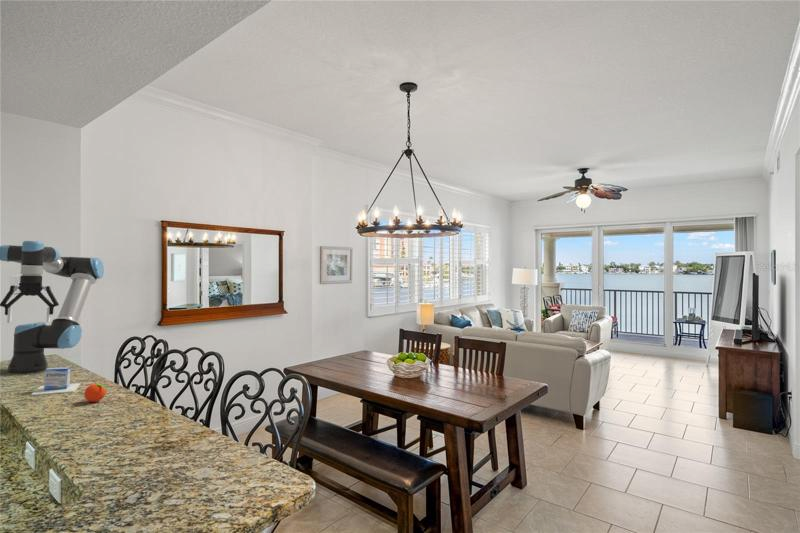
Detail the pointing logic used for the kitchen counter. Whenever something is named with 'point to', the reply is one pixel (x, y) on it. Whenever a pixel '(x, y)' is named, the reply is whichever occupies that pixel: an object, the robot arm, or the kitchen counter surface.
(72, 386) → the mat
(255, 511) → the kitchen counter surface
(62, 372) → the medicine box
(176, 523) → the kitchen counter surface
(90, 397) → the clementine
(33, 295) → the robot arm
